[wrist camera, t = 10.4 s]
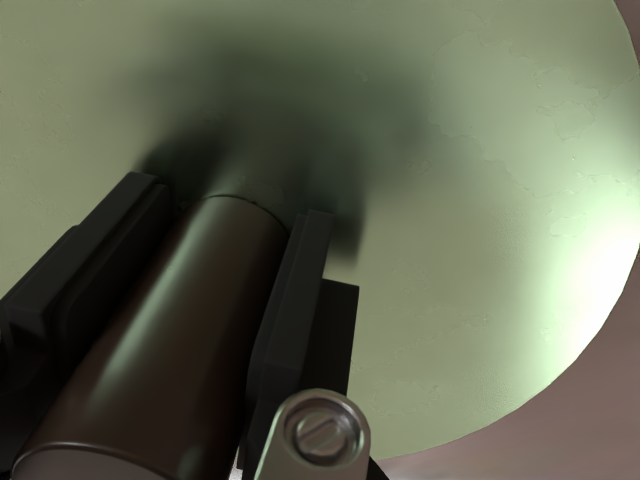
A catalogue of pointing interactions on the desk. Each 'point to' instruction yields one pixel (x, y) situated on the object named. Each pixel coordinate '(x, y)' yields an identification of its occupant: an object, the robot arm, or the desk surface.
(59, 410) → the lid
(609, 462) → the desk surface
